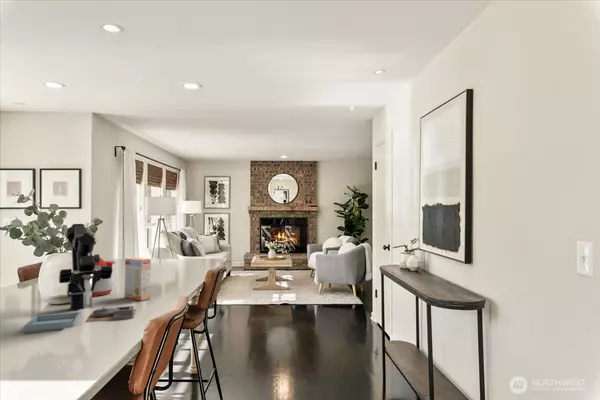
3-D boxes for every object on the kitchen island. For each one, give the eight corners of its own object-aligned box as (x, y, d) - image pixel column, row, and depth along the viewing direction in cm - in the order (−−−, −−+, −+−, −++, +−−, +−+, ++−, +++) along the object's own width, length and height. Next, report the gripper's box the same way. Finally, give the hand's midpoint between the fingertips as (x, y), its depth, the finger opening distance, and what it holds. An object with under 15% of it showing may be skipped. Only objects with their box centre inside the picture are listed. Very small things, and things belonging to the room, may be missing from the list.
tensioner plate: (91, 315, 164) (91, 304, 164) (136, 311, 170) (136, 301, 171) (84, 325, 150) (84, 313, 150) (133, 320, 156) (133, 309, 157)
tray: (36, 322, 153) (36, 315, 153) (80, 319, 158) (81, 312, 158) (24, 333, 140) (24, 325, 140) (73, 329, 145) (73, 321, 145)
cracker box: (150, 299, 194) (151, 258, 194) (140, 301, 189) (141, 260, 189) (134, 295, 201) (135, 256, 202) (123, 298, 196) (124, 258, 197)
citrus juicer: (94, 299, 194) (95, 260, 194) (76, 294, 203) (77, 257, 204) (122, 293, 207) (123, 257, 208) (104, 289, 216) (105, 255, 217)
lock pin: (85, 305, 153) (86, 273, 153) (95, 305, 153) (95, 273, 153) (79, 308, 149) (80, 275, 149) (89, 308, 149) (89, 275, 149)
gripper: (60, 249, 149) (62, 281, 140) (112, 246, 160) (116, 276, 151) (58, 266, 155) (60, 298, 146) (108, 263, 166) (112, 292, 157)
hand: (88, 291), depth 150 cm, fingers closed on lock pin, 3 cm apart
